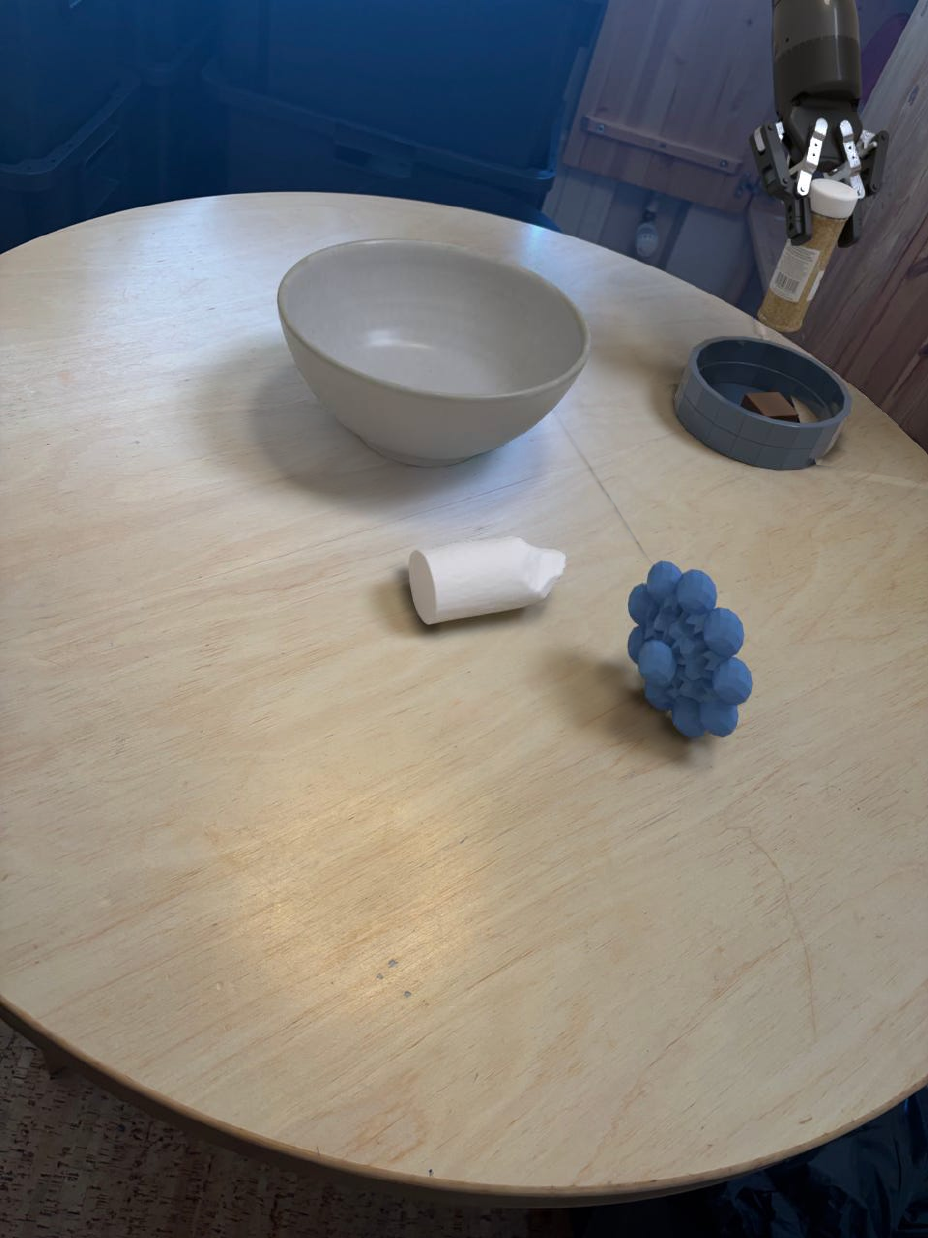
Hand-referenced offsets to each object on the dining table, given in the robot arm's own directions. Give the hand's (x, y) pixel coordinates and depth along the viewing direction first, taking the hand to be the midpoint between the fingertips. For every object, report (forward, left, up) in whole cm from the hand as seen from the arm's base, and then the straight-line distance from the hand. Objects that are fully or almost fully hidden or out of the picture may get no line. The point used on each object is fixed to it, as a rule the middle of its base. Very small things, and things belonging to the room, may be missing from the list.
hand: (825, 243), depth 88 cm
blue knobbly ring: (+16, +43, -19) cm, 50 cm away
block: (+1, +5, -18) cm, 19 cm away
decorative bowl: (+35, +12, -19) cm, 41 cm away
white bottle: (+28, +34, -19) cm, 48 cm away
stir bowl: (+1, +2, -19) cm, 19 cm away
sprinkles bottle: (+1, -2, -9) cm, 9 cm away
